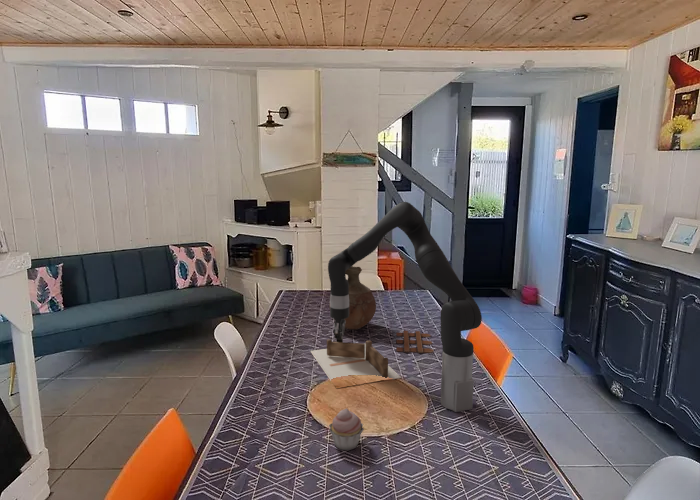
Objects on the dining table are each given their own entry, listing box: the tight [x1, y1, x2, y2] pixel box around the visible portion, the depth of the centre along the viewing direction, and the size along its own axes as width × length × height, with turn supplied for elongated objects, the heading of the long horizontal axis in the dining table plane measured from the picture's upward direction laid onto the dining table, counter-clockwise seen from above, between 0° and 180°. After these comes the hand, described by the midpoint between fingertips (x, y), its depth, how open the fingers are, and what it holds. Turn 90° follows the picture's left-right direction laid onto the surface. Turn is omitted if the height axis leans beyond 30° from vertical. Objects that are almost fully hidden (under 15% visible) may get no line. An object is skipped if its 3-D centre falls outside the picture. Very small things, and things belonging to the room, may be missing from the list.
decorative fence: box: [395, 330, 435, 354], centre depth 191 cm, size 23×2×15 cm
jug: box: [328, 265, 377, 330], centre depth 207 cm, size 22×22×30 cm
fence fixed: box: [365, 340, 389, 378], centre depth 165 cm, size 18×2×8 cm, turn 20°
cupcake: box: [328, 407, 365, 451], centre depth 119 cm, size 9×9×10 cm
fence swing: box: [326, 338, 366, 358], centre depth 174 cm, size 15×2×6 cm, turn 80°
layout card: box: [310, 342, 402, 381], centre depth 170 cm, size 34×24×1 cm
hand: (339, 346), depth 177 cm, fingers closed
